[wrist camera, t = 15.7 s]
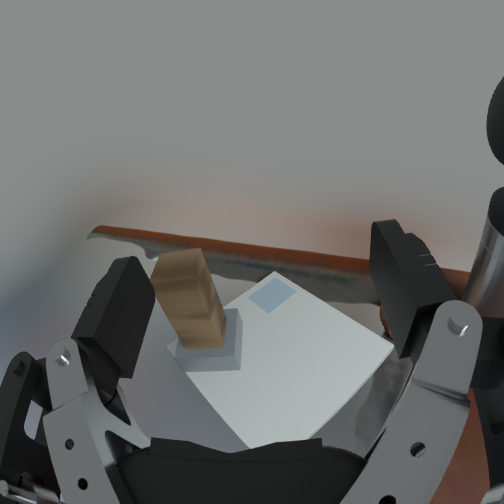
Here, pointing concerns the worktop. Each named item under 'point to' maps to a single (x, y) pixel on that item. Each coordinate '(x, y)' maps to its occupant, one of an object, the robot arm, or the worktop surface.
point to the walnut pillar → (190, 298)
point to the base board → (282, 363)
